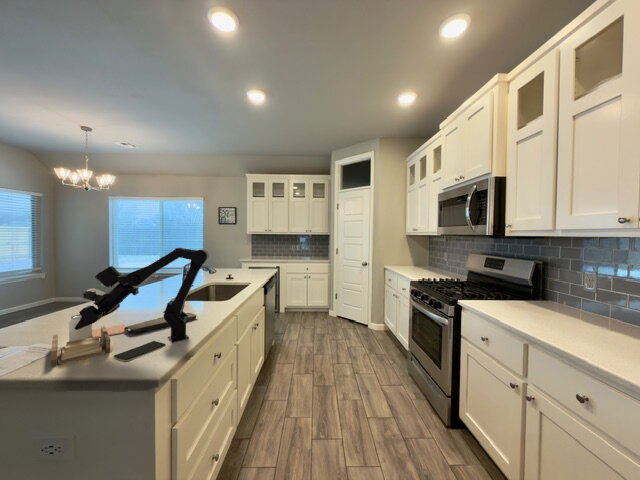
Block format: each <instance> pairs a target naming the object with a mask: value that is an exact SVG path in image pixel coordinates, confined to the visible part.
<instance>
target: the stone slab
mask: <svg viewBox="0 0 640 480" xmlns="http://www.w3.org/2000/svg"><path fill="white" fill-rule="evenodd" d="M185 313H186V314H187V315H188V318H187V320H186V321H185V322H186V323H187V322H191V321H193V320H194V321H195V320H196V319H197V316H198V315H197V314H195V313H192V312H185ZM166 327H170V326H169V324H168V322H166V321H165V319H164V316H162V317H159V318H156V319H150V320H146V321H143V322H138V323H135V324H131V325H127V326H126V327H125V328H124V330H126V329H128V330H131V331H134V332H136V333H140V332H146V331H150V330H151V331H152V330H155V329H161V328H166Z"/></svg>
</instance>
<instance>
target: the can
mask: <svg viewBox="0 0 640 480" xmlns="http://www.w3.org/2000/svg"><path fill="white" fill-rule="evenodd" d="M80 319H81V315H80V313H79V314H74V315H72V316H70V320H69V322H68V327H69V328H68V330H69V331H68V342H69V341H75V340H80V339H86V338H91V337H92V330H93V324H90V325H88V326H85V327H83V328H81V329H78V330H76V329H75V327H76V325H77V324H78V322H79V321H80Z"/></svg>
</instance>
